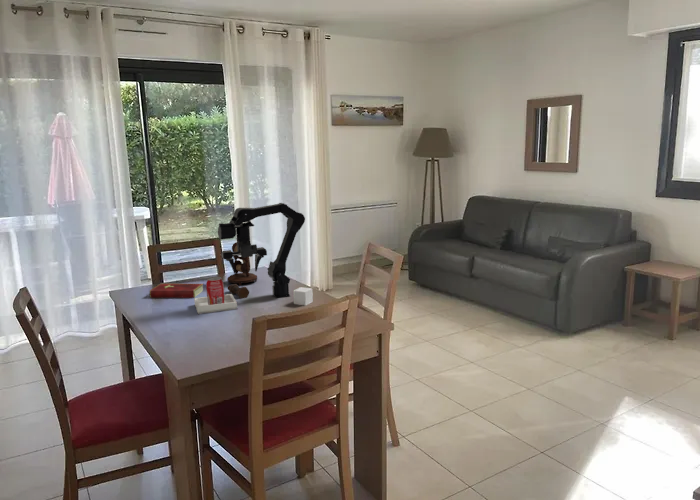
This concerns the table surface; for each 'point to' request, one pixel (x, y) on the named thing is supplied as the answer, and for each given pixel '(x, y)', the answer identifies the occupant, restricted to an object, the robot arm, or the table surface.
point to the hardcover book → (176, 291)
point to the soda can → (215, 290)
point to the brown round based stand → (241, 269)
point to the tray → (203, 305)
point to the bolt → (238, 291)
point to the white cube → (303, 296)
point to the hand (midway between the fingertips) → (245, 272)
